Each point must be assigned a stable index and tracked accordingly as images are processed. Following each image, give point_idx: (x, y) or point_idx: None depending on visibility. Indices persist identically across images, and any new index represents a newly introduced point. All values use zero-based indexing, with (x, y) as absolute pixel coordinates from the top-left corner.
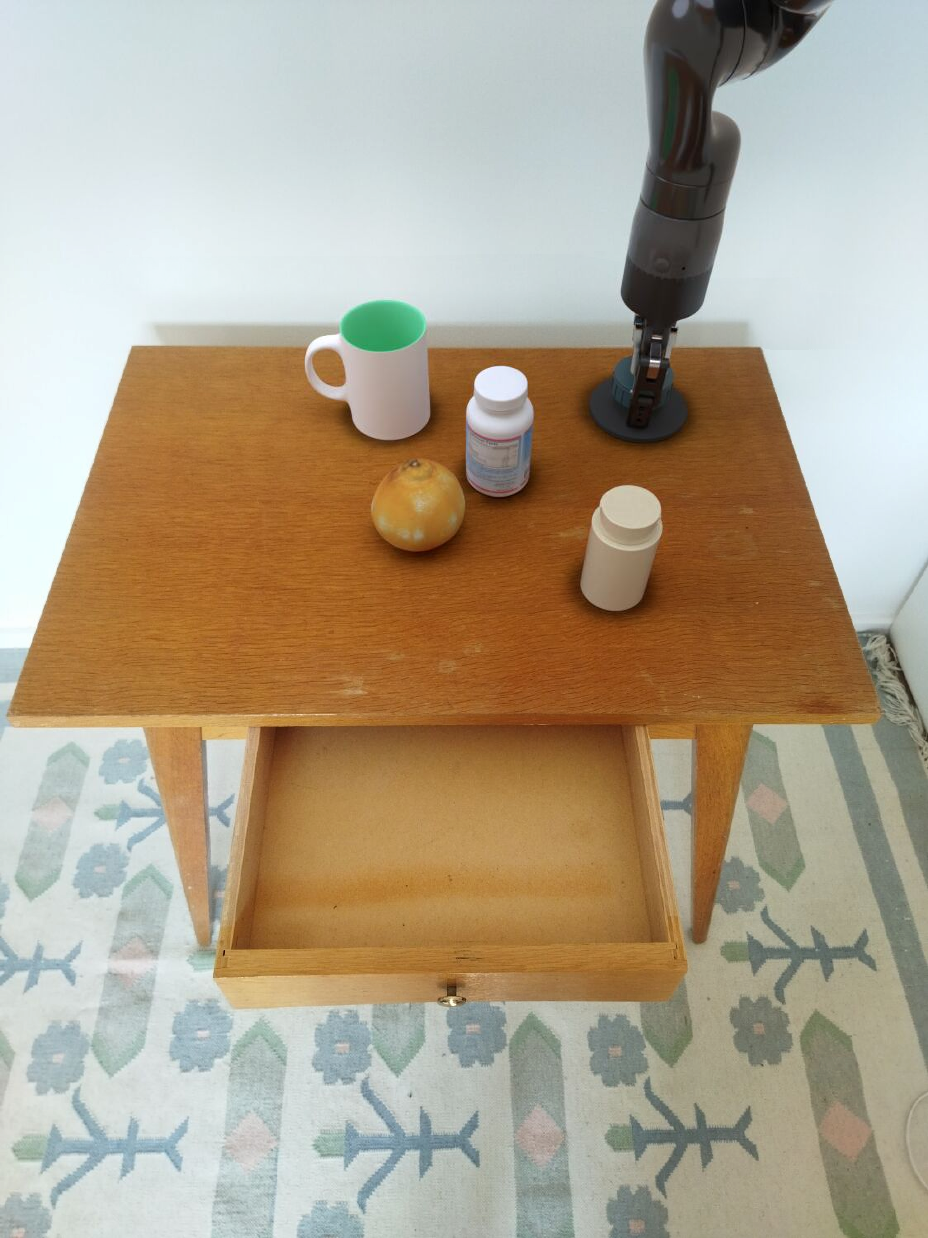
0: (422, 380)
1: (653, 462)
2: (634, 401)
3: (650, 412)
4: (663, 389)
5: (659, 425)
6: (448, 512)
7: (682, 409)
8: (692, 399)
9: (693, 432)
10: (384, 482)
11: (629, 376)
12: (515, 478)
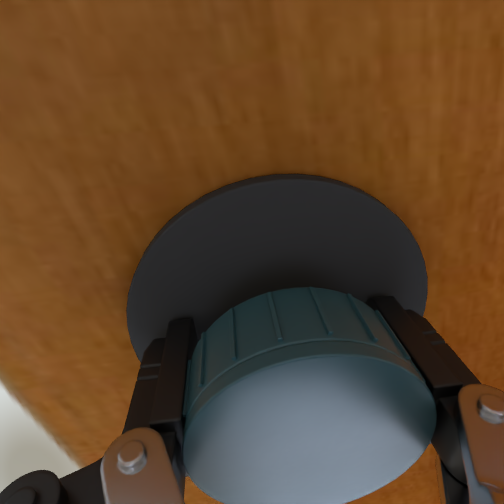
0: None
1: (497, 244)
2: None
3: (424, 337)
4: (418, 376)
5: (368, 260)
6: None
7: (274, 198)
8: (174, 158)
9: (363, 137)
10: None
11: (341, 476)
12: None
